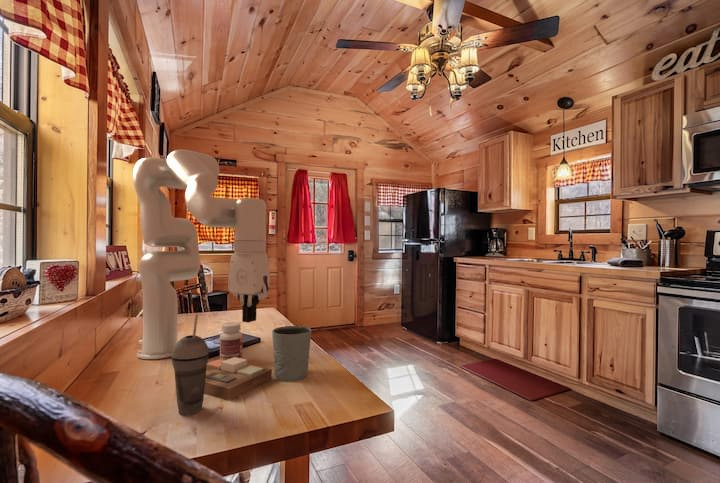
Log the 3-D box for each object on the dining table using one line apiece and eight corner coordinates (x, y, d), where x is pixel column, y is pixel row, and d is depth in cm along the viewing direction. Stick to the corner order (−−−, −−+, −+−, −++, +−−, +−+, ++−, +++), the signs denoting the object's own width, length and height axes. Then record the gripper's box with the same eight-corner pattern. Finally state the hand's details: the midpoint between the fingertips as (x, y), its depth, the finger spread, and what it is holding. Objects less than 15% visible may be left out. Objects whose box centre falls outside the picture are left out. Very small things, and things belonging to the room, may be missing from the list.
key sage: (236, 379, 92) (236, 370, 92) (249, 373, 96) (249, 365, 96) (250, 382, 90) (250, 374, 90) (263, 376, 94) (263, 368, 94)
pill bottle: (245, 364, 106) (245, 324, 106) (222, 368, 103) (222, 327, 103) (238, 358, 112) (239, 320, 112) (217, 362, 108) (217, 323, 108)
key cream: (220, 369, 95) (220, 361, 95) (234, 364, 99) (234, 357, 99) (233, 372, 93) (233, 364, 93) (247, 367, 97) (247, 359, 97)
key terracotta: (205, 371, 97) (205, 363, 97) (219, 366, 101) (219, 358, 101) (218, 374, 95) (218, 366, 95) (231, 369, 99) (231, 361, 99)
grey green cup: (264, 379, 95) (264, 332, 95) (285, 366, 105) (285, 323, 105) (299, 384, 92) (299, 336, 92) (317, 371, 101) (318, 327, 101)
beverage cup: (179, 403, 81) (179, 311, 81) (213, 402, 82) (214, 311, 82) (164, 419, 74) (164, 318, 74) (202, 418, 75) (202, 318, 75)
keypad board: (175, 385, 91) (175, 372, 91) (221, 367, 104) (221, 356, 104) (229, 400, 83) (229, 386, 83) (271, 379, 95) (271, 367, 95)
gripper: (217, 247, 94) (216, 320, 94) (262, 249, 87) (261, 328, 87) (239, 246, 100) (238, 315, 100) (283, 248, 93) (282, 321, 93)
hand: (249, 321), depth 94 cm, fingers closed
